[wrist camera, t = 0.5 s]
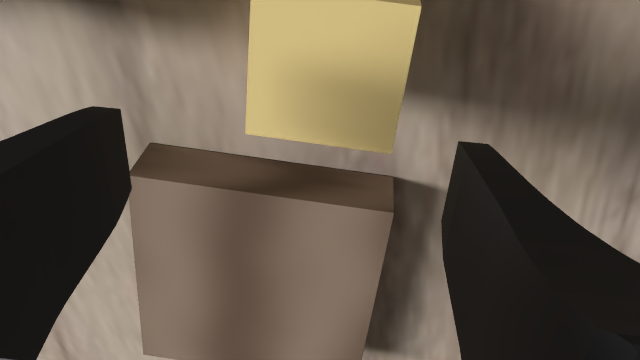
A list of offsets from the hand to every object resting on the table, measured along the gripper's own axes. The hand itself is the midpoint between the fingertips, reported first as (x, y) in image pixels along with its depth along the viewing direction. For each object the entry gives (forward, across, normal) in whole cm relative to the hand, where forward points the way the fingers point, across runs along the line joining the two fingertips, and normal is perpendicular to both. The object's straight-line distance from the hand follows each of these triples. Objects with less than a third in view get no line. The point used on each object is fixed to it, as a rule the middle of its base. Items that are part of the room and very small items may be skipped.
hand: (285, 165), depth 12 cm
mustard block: (+9, 0, 0) cm, 9 cm away
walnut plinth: (+9, +2, +11) cm, 14 cm away
